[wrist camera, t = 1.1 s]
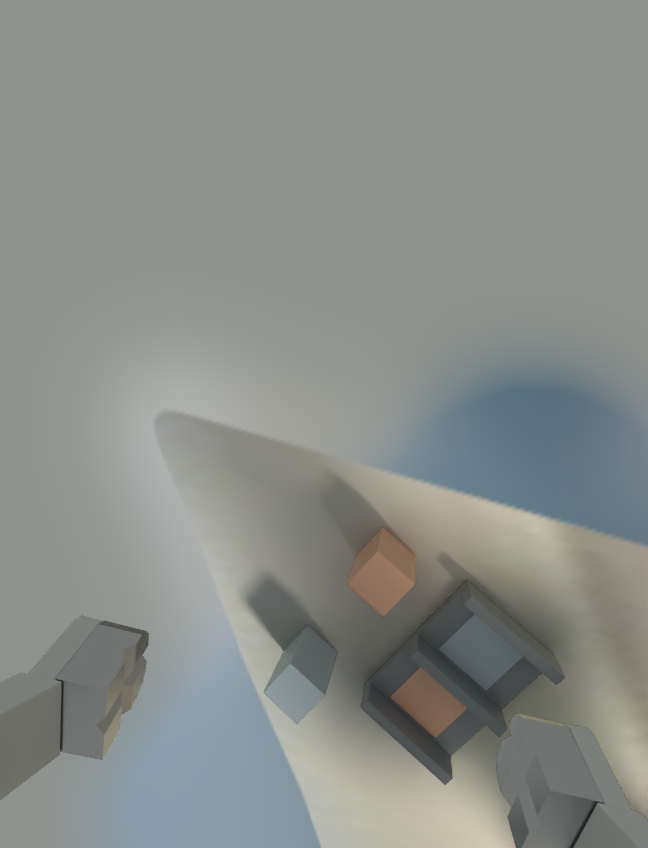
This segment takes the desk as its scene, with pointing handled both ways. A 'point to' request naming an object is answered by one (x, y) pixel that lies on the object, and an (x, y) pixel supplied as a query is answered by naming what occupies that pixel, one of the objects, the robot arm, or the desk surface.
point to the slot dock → (455, 678)
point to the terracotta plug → (383, 572)
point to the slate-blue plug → (301, 674)
